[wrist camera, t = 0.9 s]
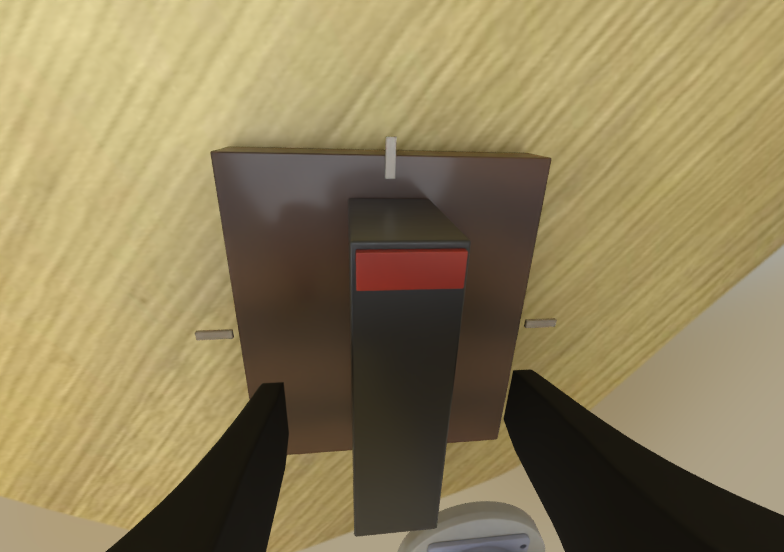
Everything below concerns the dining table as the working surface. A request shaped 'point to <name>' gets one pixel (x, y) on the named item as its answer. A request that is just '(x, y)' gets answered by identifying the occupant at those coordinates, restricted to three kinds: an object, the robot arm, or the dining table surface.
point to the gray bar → (402, 357)
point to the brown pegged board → (331, 271)
